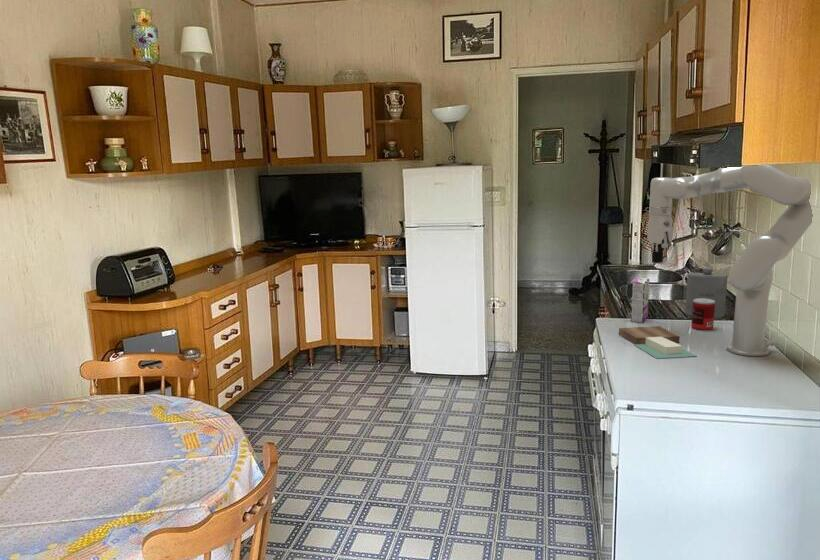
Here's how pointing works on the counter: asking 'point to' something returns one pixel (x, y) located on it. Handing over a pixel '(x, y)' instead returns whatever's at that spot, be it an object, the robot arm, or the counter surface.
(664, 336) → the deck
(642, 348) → the mat
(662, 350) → the tile
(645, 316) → the candy bar box
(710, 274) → the grey upright rectangular block
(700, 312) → the canned food
